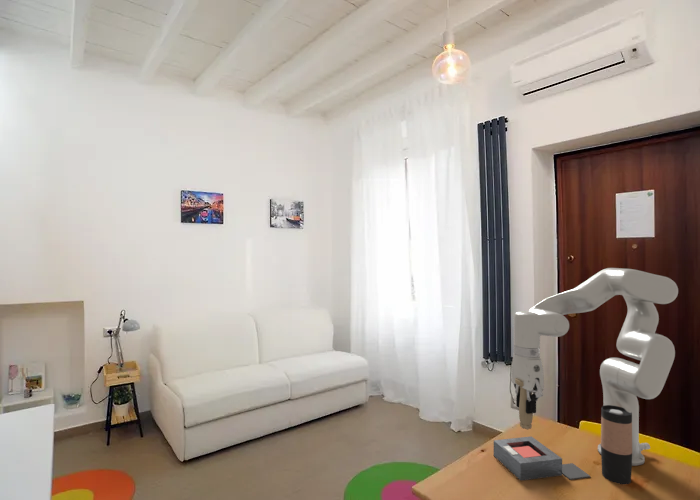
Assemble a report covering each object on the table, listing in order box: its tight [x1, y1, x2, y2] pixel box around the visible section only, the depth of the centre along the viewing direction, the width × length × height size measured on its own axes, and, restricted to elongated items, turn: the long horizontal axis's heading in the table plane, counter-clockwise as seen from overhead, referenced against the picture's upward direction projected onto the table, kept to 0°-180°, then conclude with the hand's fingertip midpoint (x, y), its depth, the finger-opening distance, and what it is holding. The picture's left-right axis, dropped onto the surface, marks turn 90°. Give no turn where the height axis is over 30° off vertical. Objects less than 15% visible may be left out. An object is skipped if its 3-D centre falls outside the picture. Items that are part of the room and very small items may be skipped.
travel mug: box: [600, 405, 633, 485], centre depth 114 cm, size 8×8×20 cm
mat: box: [562, 462, 591, 481], centre depth 117 cm, size 7×7×1 cm
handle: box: [515, 378, 534, 430], centre depth 121 cm, size 5×6×15 cm
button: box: [513, 446, 541, 458], centre depth 121 cm, size 6×6×1 cm
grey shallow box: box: [493, 435, 563, 482], centre depth 121 cm, size 14×14×5 cm
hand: (526, 409), depth 121 cm, fingers closed on handle, 3 cm apart
